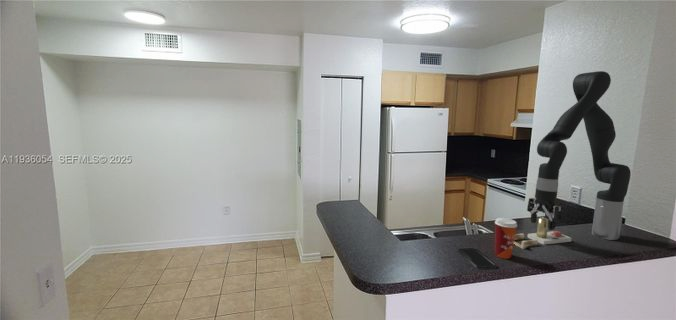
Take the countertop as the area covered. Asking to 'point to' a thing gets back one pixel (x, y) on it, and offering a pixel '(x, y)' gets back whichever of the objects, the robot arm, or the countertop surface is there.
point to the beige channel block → (524, 243)
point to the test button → (557, 233)
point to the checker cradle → (550, 238)
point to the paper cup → (504, 237)
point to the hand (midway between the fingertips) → (541, 225)
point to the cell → (542, 227)
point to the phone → (477, 258)
